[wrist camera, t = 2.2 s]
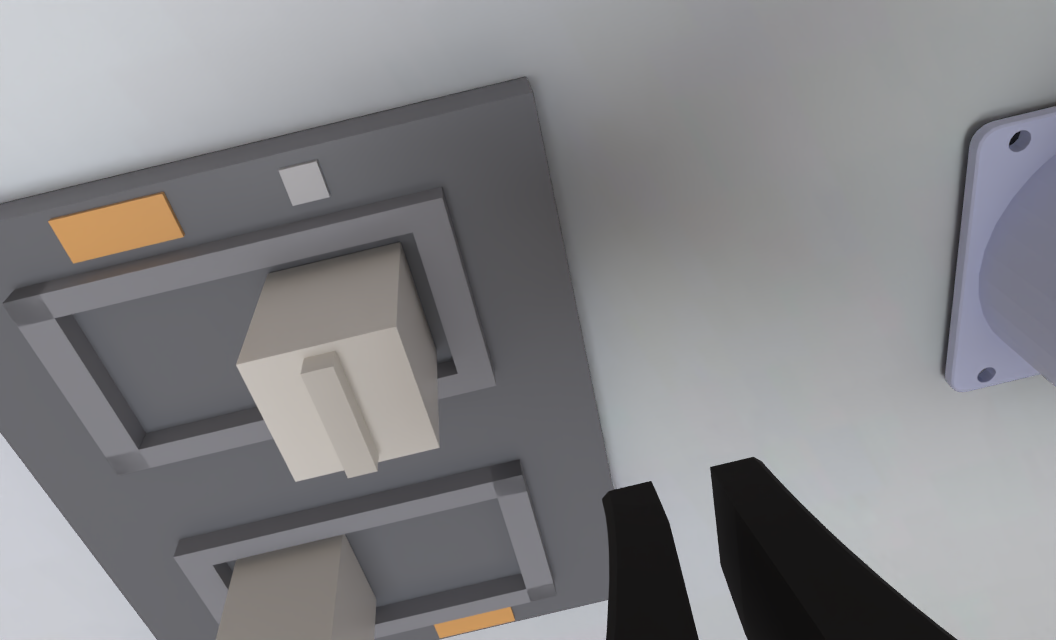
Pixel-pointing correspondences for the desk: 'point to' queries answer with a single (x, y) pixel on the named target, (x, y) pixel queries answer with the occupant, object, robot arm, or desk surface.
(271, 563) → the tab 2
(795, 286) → the desk surface
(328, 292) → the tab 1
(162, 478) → the switch bank
